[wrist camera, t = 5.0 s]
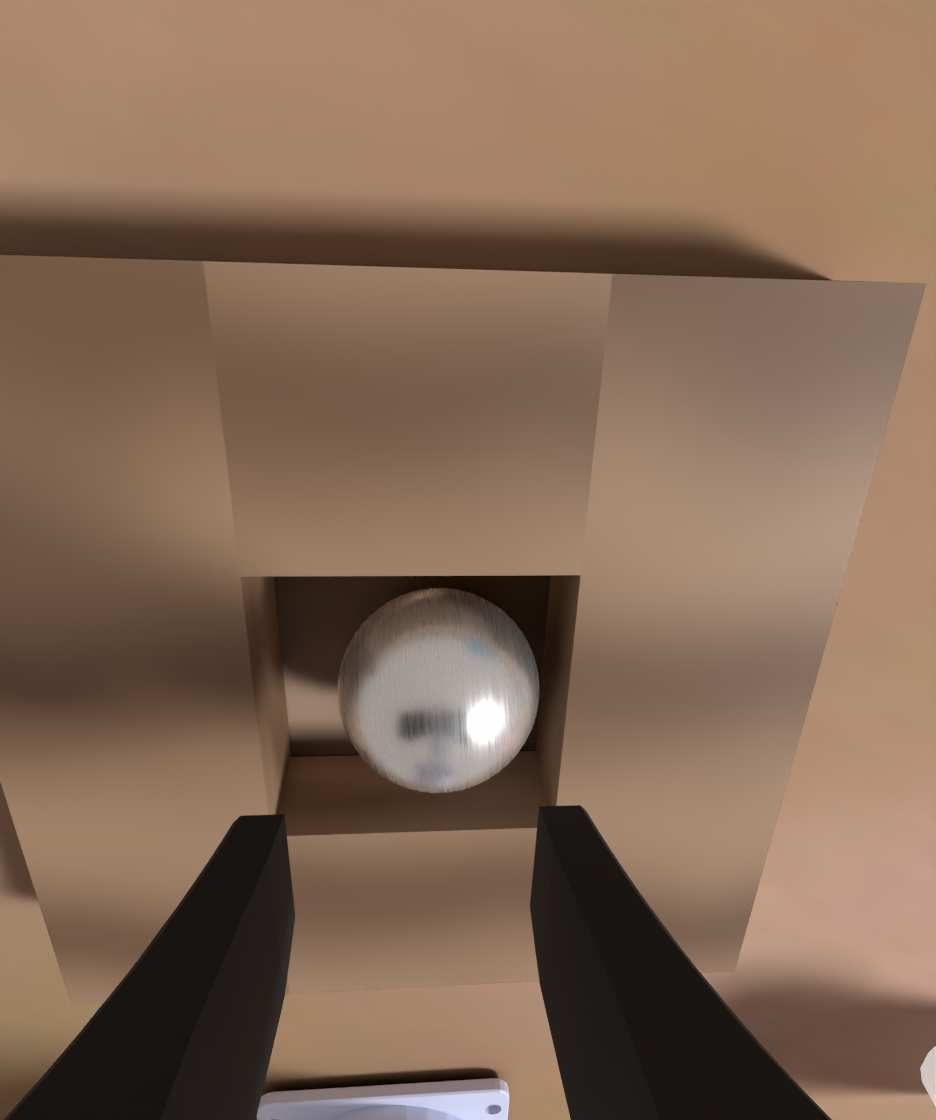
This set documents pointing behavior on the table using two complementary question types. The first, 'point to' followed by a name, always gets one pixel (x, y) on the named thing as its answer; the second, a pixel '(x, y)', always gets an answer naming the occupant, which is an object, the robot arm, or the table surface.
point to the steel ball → (438, 690)
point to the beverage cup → (930, 1074)
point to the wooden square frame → (417, 550)
